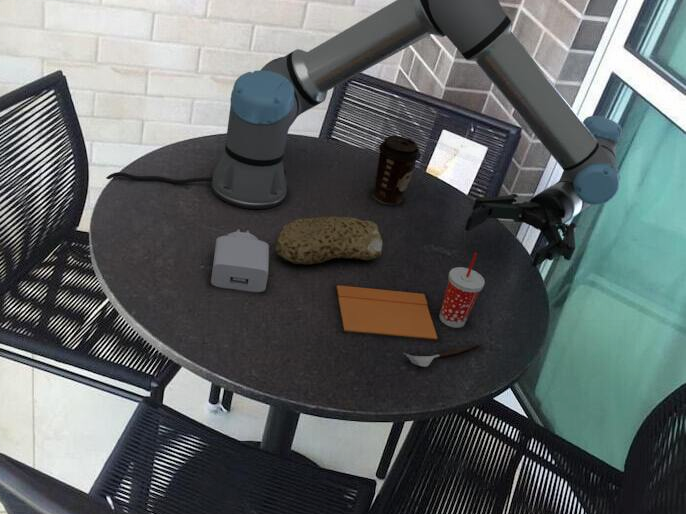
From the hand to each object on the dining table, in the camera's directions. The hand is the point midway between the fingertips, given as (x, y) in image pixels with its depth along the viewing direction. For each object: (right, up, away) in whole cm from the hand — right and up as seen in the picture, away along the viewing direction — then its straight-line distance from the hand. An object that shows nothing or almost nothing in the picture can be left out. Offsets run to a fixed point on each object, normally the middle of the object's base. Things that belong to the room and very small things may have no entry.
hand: (501, 241), depth 141 cm
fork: (-11, -19, -8) cm, 24 cm away
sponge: (-30, -2, +10) cm, 32 cm away
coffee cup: (-17, +11, +33) cm, 38 cm away
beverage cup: (-8, -14, +1) cm, 16 cm away
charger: (-46, -4, +2) cm, 46 cm away
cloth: (-20, -12, -2) cm, 24 cm away
